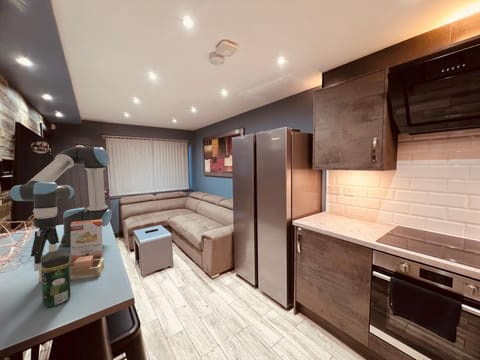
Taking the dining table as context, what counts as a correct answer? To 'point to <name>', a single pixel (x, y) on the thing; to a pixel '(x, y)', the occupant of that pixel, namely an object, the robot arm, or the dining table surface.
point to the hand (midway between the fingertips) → (46, 263)
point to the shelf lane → (87, 270)
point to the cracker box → (86, 239)
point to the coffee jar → (55, 278)
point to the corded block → (79, 264)
